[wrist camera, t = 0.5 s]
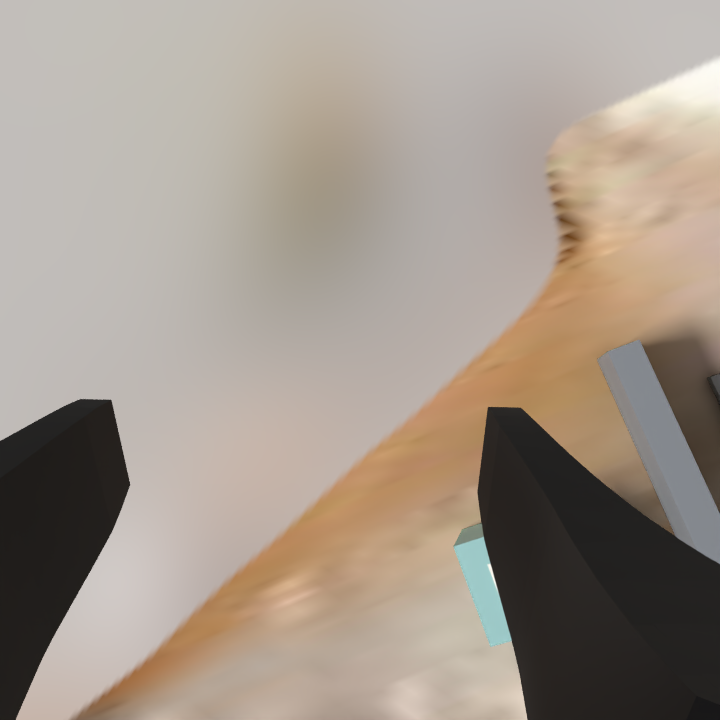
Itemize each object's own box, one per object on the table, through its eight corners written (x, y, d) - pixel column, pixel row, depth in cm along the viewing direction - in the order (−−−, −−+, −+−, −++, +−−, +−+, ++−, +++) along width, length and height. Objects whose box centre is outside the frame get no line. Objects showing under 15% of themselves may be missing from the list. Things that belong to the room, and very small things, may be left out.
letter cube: (581, 588, 33) (592, 618, 28) (494, 614, 34) (490, 647, 29) (546, 501, 33) (550, 515, 29) (462, 529, 35) (453, 547, 30)
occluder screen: (774, 675, 30) (812, 713, 26) (741, 684, 30) (774, 722, 26) (625, 349, 33) (639, 339, 29) (597, 359, 33) (607, 351, 30)
